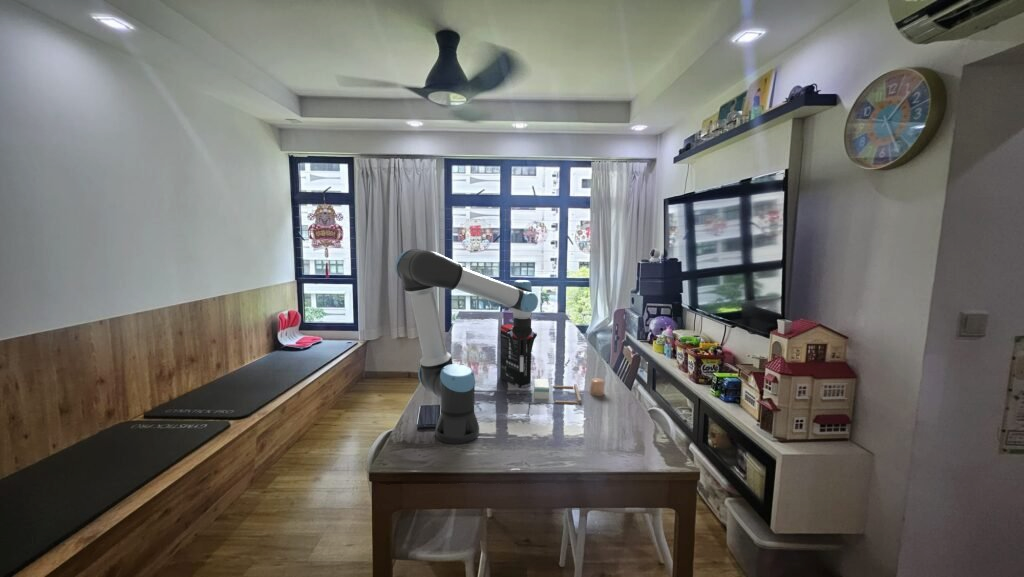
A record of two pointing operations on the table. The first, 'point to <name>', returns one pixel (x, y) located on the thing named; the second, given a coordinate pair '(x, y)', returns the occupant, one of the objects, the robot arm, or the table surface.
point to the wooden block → (597, 387)
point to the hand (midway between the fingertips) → (521, 370)
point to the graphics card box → (514, 360)
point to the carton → (541, 389)
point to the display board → (552, 396)
